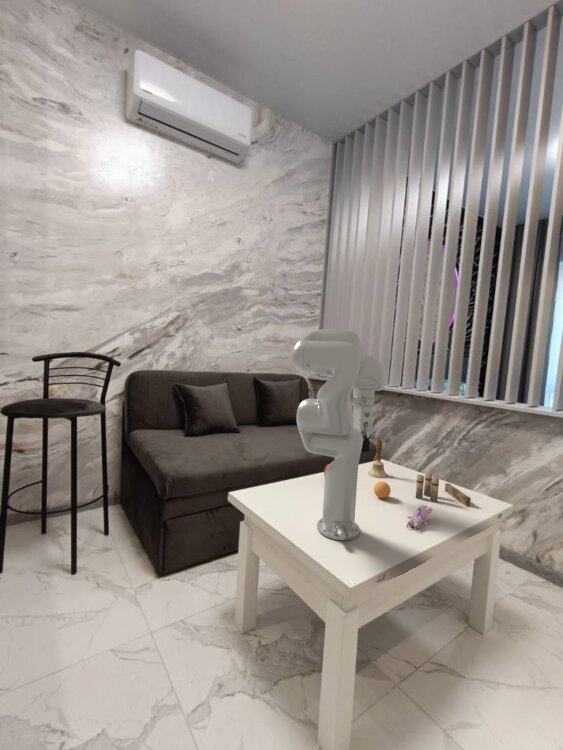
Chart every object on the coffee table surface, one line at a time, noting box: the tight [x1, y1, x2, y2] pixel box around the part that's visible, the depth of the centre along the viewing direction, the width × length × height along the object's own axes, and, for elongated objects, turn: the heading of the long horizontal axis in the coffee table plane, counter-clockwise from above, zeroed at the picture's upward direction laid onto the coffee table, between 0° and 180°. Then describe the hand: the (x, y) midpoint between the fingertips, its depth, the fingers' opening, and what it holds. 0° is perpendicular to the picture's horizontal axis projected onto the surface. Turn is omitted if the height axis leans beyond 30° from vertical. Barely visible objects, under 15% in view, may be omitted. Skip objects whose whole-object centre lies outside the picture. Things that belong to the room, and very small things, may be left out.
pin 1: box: [423, 472, 433, 498], centre depth 136 cm, size 2×2×8 cm
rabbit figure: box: [406, 504, 433, 532], centre depth 113 cm, size 6×6×15 cm
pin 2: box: [429, 476, 440, 503], centre depth 131 cm, size 2×2×8 cm
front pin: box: [415, 474, 425, 500], centre depth 133 cm, size 2×2×8 cm
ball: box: [373, 480, 392, 499], centre depth 132 cm, size 6×6×6 cm
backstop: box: [444, 483, 472, 507], centre depth 134 cm, size 14×2×3 cm, turn 5°
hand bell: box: [367, 438, 388, 479], centre depth 156 cm, size 8×8×16 cm
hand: (360, 447), depth 130 cm, fingers open, 9 cm apart
